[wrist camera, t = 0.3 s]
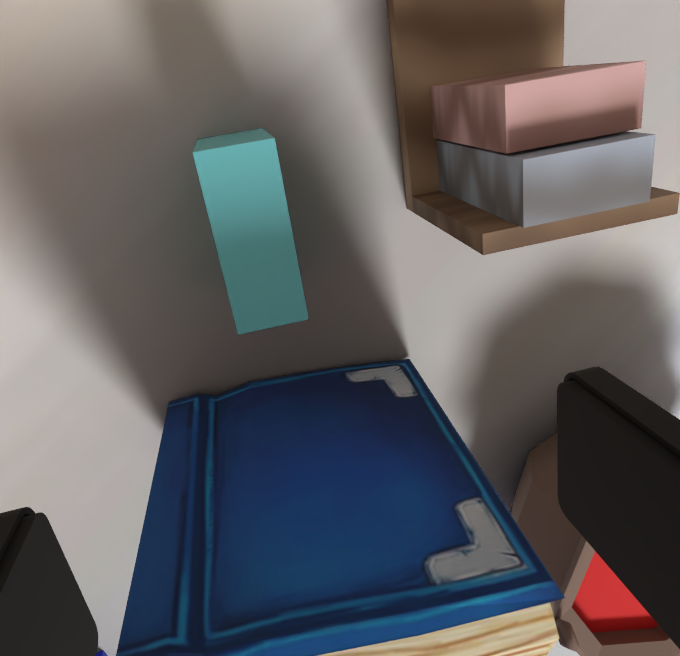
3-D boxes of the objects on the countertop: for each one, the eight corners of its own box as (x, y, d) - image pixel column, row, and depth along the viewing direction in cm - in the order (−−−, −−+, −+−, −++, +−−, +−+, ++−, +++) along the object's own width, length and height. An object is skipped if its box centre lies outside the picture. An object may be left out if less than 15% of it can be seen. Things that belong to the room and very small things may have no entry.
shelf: (368, -193, 33) (462, -368, 20) (554, -212, 34) (749, -386, 22) (407, 208, 43) (486, 257, 30) (550, 179, 44) (682, 214, 32)
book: (168, 463, 47) (126, 803, 25) (151, 392, 44) (86, 702, 22) (411, 421, 51) (568, 685, 28) (410, 352, 48) (583, 584, 25)
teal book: (197, 139, 38) (192, 152, 30) (262, 128, 39) (274, 137, 30) (233, 288, 43) (238, 334, 34) (291, 276, 43) (308, 319, 35)
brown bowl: (482, 590, 62) (566, 747, 47) (454, 415, 51) (550, 545, 37) (676, 522, 64) (814, 651, 49) (686, 341, 54) (864, 436, 39)
